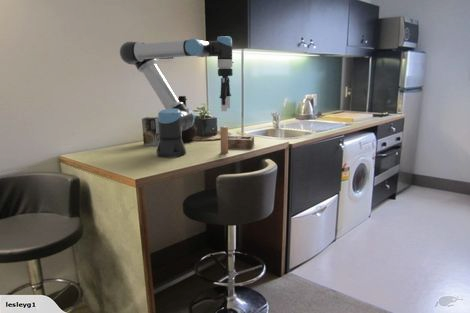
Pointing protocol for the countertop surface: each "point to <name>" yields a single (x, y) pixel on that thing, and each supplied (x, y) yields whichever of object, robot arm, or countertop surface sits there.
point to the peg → (224, 139)
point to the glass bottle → (192, 131)
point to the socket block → (241, 142)
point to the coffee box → (150, 131)
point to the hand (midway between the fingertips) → (225, 109)
